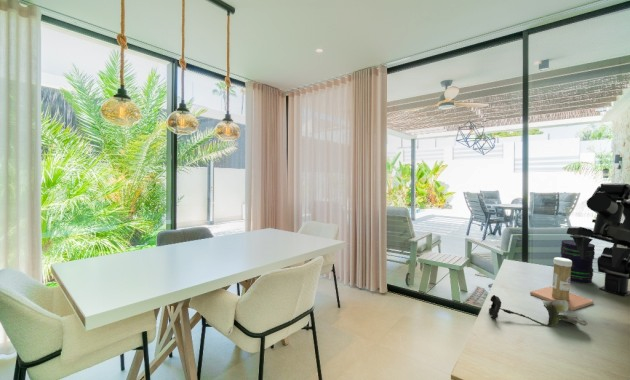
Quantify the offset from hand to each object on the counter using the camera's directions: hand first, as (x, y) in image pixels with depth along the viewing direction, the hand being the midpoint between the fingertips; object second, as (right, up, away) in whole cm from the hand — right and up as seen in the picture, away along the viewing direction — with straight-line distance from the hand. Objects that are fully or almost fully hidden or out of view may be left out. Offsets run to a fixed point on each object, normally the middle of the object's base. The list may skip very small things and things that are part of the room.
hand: (598, 262), depth 90 cm
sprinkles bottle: (-13, -12, 0) cm, 18 cm away
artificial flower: (-32, -14, -12) cm, 37 cm away
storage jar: (+11, -12, +19) cm, 25 cm away
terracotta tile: (-12, -13, +1) cm, 17 cm away
